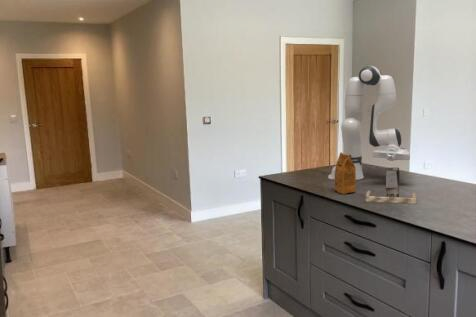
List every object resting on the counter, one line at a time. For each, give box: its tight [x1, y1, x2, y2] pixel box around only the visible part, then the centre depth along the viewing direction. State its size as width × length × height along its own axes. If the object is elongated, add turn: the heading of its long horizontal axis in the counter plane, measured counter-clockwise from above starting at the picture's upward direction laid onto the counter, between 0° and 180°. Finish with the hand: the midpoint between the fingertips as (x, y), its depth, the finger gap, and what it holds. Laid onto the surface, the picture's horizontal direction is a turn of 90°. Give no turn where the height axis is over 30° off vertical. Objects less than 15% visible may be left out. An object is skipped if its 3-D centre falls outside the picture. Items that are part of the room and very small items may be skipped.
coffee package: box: [333, 151, 357, 195], centre depth 237 cm, size 10×12×22 cm
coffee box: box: [385, 167, 400, 198], centre depth 217 cm, size 9×6×16 cm
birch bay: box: [365, 190, 417, 205], centre depth 218 cm, size 24×13×2 cm, turn 68°
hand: (390, 157), depth 238 cm, fingers closed
